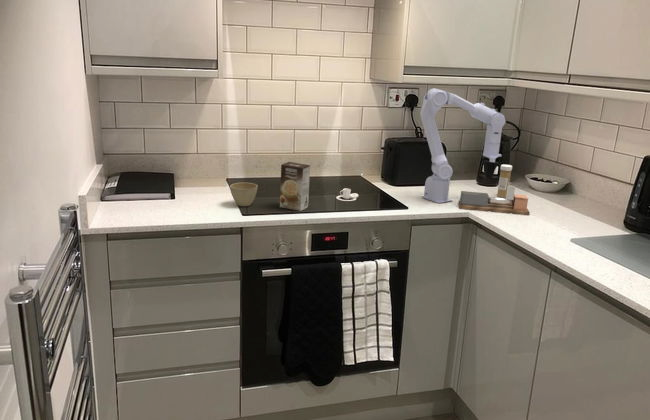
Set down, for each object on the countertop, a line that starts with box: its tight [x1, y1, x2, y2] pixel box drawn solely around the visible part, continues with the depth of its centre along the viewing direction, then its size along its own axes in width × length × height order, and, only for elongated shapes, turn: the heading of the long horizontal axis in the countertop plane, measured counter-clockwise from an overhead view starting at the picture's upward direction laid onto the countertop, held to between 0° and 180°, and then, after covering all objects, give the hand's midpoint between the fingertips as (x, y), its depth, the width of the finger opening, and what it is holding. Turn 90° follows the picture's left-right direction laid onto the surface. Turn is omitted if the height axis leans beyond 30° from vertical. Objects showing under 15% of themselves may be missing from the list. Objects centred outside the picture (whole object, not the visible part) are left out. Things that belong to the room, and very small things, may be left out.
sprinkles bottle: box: [496, 164, 513, 198], centre depth 224 cm, size 5×5×13 cm
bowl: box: [229, 182, 258, 207], centre depth 196 cm, size 10×10×7 cm
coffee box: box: [279, 161, 311, 212], centre depth 194 cm, size 9×6×16 cm
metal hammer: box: [488, 185, 516, 206], centre depth 204 cm, size 14×3×8 cm, turn 80°
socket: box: [512, 193, 529, 211], centre depth 204 cm, size 4×5×5 cm
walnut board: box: [457, 200, 530, 216], centre depth 206 cm, size 26×8×1 cm, turn 80°
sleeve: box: [459, 190, 490, 207], centre depth 207 cm, size 10×4×4 cm, turn 80°
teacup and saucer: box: [335, 187, 359, 202], centre depth 211 cm, size 9×8×4 cm
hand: (487, 176), depth 214 cm, fingers open, 7 cm apart
